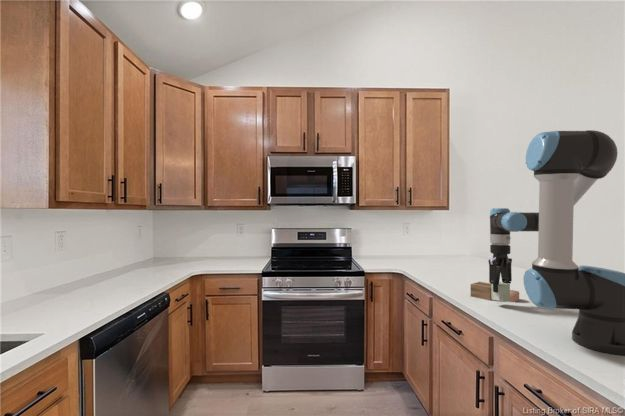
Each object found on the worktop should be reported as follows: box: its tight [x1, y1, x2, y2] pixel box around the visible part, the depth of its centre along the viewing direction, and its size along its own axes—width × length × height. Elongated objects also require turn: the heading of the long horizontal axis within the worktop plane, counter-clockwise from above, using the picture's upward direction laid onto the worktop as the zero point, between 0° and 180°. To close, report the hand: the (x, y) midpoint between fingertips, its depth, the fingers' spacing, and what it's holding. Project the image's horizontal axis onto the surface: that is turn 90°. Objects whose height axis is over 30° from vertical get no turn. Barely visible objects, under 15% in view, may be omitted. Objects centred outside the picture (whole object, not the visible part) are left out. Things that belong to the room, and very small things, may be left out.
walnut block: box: [470, 281, 493, 301], centre depth 158 cm, size 9×9×6 cm
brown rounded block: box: [507, 289, 520, 303], centre depth 152 cm, size 7×7×4 cm
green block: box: [491, 281, 511, 303], centre depth 143 cm, size 5×5×7 cm
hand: (500, 299), depth 142 cm, fingers closed on green block, 5 cm apart
